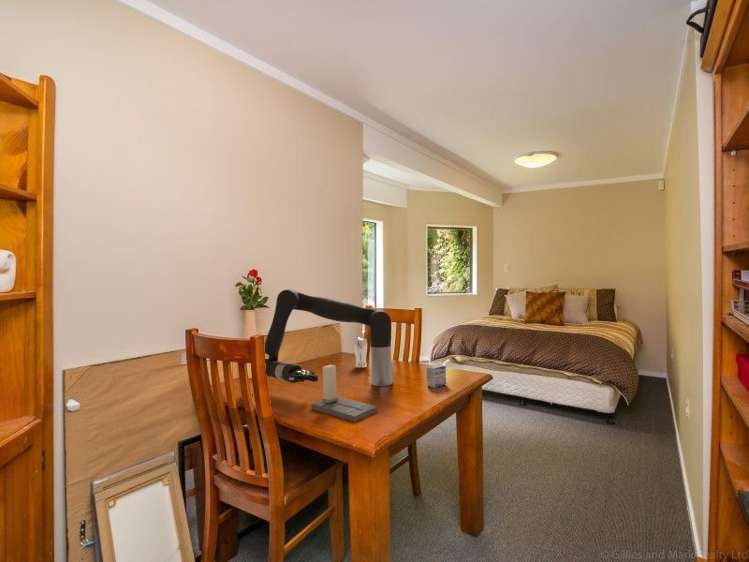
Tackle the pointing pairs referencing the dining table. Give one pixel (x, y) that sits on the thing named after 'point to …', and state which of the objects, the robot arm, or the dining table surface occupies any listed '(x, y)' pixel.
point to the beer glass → (360, 352)
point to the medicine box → (436, 376)
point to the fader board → (345, 409)
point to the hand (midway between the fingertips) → (316, 378)
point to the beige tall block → (329, 384)
